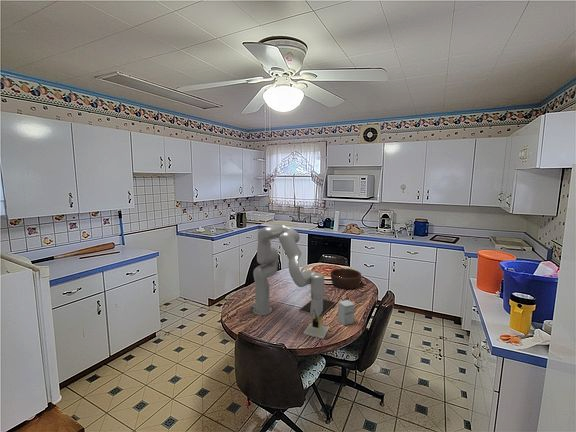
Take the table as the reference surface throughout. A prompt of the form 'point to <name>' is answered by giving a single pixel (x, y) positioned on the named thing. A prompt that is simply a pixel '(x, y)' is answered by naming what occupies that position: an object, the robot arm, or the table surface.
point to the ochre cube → (320, 321)
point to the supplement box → (345, 312)
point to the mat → (316, 331)
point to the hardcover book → (326, 307)
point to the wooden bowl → (345, 278)
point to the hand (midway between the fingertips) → (317, 324)
